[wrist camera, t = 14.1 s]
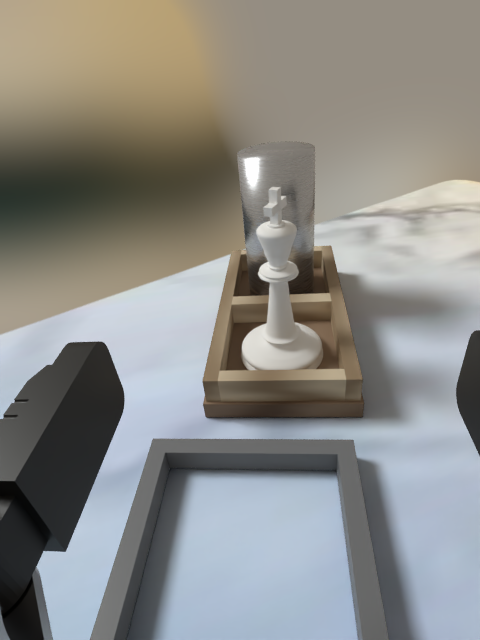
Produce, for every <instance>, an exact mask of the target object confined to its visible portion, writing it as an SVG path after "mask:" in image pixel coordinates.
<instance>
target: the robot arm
mask: <svg viewBox="0 0 480 640" xmlns="http://www.w3.org/2000/svg"><path fill="white" fill-rule="evenodd" d="M456 397H457V404H458V408H459V411H460V414H461V416H462V418H463V421H464V423H465V425H466V427H467V429H468V431H469V434H470V436H471V438H472V440H473V442H474V444H475V447H476V449H477V451H478V453H479V455H480V330H477V331H474V332H473V333H472V334H471V336H470V339H469V342H468V346H467V350H466V353H465V357H464V361H463V364H462V368H461V371H460V375H459V379H458V382H457V388H456ZM14 400H15V402H14V403H12V404H11V405H10V406H9V408H8V409H7V411H6V412H5V413H4V418H3V419H0V640H53V637H52V632H51V627H50V622H49V617H48V612H47V607H46V602H45V597H44V592H43V587H42V582H41V577H40V574H39V571H38V569H37V567H36V566H37V564H38V562H39V560H40V557H41V555H42V553H43V551H61V552H66V550H67V547H68V545H69V542H70V540H71V537H72V535H73V533H74V530H75V528H76V525H77V523H78V520H79V518H80V516H81V513H82V511H83V508H84V506H85V503H86V501H87V499H88V496H89V494H90V491H91V489H92V486H93V484H94V482H95V479H96V477H97V474H98V472H99V469H100V467H101V465H102V462H103V460H104V457H105V455H106V452H107V450H108V448H109V445H110V443H111V440H112V438H113V435H114V433H115V431H116V428H117V426H118V423H119V421H120V418H121V416H122V413H123V409H124V391H123V387H122V385H121V382H120V379H119V377H118V374H117V371H116V369H115V366H114V363H113V361H112V358H111V355H110V353H109V350H108V348H107V346H106V345H105V344H104V343H103V342H73V343H68V344H67V345H66V346H65V347H64V348H63V350H62V351H61V353H60V354H59V356H58V357H57V359H56V360H55V362H54V363H53V365H47V366H46V367H44V368H43V369H42V370H41V371H39V372H38V373H37V374H36V375H34V376H33V377H32V378H31V379H30V380H28V381H27V383H26V384H25V385H24V387H23V388H22V390H21V391H20V392H19V394H18V395H17V397H16V398H15V399H14Z"/></svg>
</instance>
